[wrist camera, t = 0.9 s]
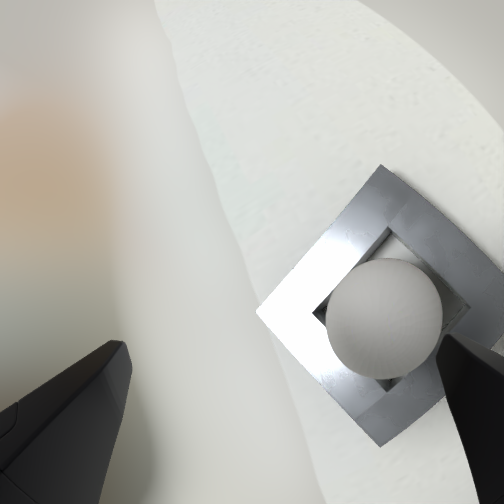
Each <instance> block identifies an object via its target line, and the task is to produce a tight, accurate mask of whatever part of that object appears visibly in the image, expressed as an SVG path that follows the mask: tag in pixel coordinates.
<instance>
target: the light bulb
mask: <svg viewBox="0 0 504 504" xmlns="http://www.w3.org/2000/svg"><path fill="white" fill-rule="evenodd" d="M442 318H443V312H442V304H441V300H440V297H439V294H438V292H437V290H436V287H435V285H434V284H433V283H432V281H431V280H430V278H429V277H428V276H427V275H426V274H425V273H424V272H423V271H422V270H420V269H419V268H417V267H416V266H414V265H412V264H410V263H408V262H406V261H402V260H399V259H392V258H382V259H375V260H371V261H368V262H365V263H363V264H361V265H359V266H357V267H355V268H354V269H352V270H351V271H350V272H349V273H347V274H346V275H345V276H344V277H343V278H342V280H341V281H340V282H339V283H338V285H337V286H336V288H335V289H334V291H333V293H332V295H331V297H330V300H329V303H328V306H327V312H326V332H327V337H328V340H329V343H330V345H331V348H332V350H333V352H334V353H335V355H336V356H337V358H338V359H339V360H340V361H341V362H342V363H343V364H344V365H345V366H346V367H347V368H349V369H350V370H351V371H353V372H355V373H357V374H359V375H361V376H364V377H367V378H372V379H391V378H396V377H399V376H402V375H404V374H407V373H409V372H411V371H412V370H414V369H415V368H417V367H418V366H419V365H420V364H421V363H422V362H424V361H425V360H426V359H427V357H428V356H429V355H430V353H431V352H432V351H433V349H434V347H435V345H436V343H437V341H438V338H439V336H440V332H441V327H442Z"/></svg>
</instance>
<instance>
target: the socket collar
mask: <svg viewBox="0 0 504 504" xmlns="http://www.w3.org/2000/svg"><path fill="white" fill-rule="evenodd" d="M390 233H392V234H393V235H394V236H395V237H396V238H397V239H398V240H399V241H400V242H402V243H403V244H404V245H405V246H406V247H407V248H408V249H409V250H410V251H411V252H412V253H413V254H415V255H416V256H417V257H418V258H419V259H420V260H421V261H422V262H423V263H424V264H425V265H426V266H427V267H428V268H429V269H430V270H431V271H432V272H433V273H434V274H435V275H436V276H437V277H438V278H439V279H440V280H441V281H442V282H443V283H444V284H445V285H446V286H447V287H448V288H449V289H450V290H451V291H452V292H453V293H454V294H455V295H456V296H457V297H458V298H459V299H460V300H461V301H462V302H463V303H464V304H465V305H464V306H463V308H462V309H461V310H460V311H459V312H458V314H457V315H456V316H455V317H454V318H453V319H452V320H451V322H450V323H449V324H448V325H447V326H446V327H445V328H444V329H443V330H442V332H441V333H440V336H439V338H438V341H437V343H436V345H435V347H434V349H433V351H432V352H431V353H430V355H429V356H428V357H427V359H426V360H425V361H424V362H422V363H421V364H420V365H419V366H418V367H417V368H415V369H414V370H412V371H411V372H409V373H407V374H404V375H402V376H399V377H396V378H394V379H393V380H392V381H391V382H390V381H389V380H388V379H372V378H367V377H364V376H361V375H359V374H357V373H355V372H353V371H351V370H350V369H349V368H347V367H346V366H345V365H344V364H343V363H342V362H341V361H340V360H339V359H338V358H337V356H336V355H335V353H334V352H333V350H332V348H331V345H330V343H329V340H328V337H327V332H326V314H325V313H324V312H323V311H322V309H323V308H324V307H325V306H326V305H327V304H328V303H329V300H330V297H331V295H332V293H333V291H334V289H335V288H336V286H337V285H338V283H339V282H340V281H341V280H342V278H343V277H344V276H345V275H346V274H347V273H349V272H350V271H351V270H352V269H354V268H355V267H357V266H359V265H361V264H363V263H365V262H366V261H367V260H368V259H369V257H370V256H371V255H372V254H373V253H374V252H375V250H376V249H377V248H378V247H379V246H380V244H381V243H382V242H383V241H384V240H385V239H386V237H387V236H388V235H389V234H390ZM256 313H257V314H258V315H259V317H260V318H261V319H262V320H263V321H264V322H265V323H266V325H267V326H268V327H269V328H270V329H271V330H272V331H273V333H274V334H275V335H276V336H277V337H278V338H279V339H280V340H281V342H282V343H283V344H284V345H285V346H286V347H287V348H288V349H289V351H290V352H291V353H292V354H293V355H294V356H295V357H296V358H297V359H298V361H299V362H300V363H301V364H302V365H303V366H304V367H305V368H306V369H307V370H308V372H309V373H310V374H311V375H312V376H313V377H314V378H315V379H316V380H317V381H318V382H319V384H320V385H321V386H322V387H323V388H324V389H325V390H326V391H327V392H328V393H329V394H330V395H331V397H332V398H333V399H334V400H335V401H336V402H337V403H338V404H339V405H340V406H341V407H342V408H343V409H344V410H345V411H346V413H347V414H348V415H349V416H350V417H351V418H352V419H353V420H354V421H355V422H356V423H357V424H358V425H359V426H360V427H361V428H362V429H363V430H364V431H365V432H366V433H367V434H368V436H369V437H370V438H371V439H372V440H373V441H374V442H375V443H376V444H377V445H378V446H379V447H382V446H383V445H384V444H386V443H387V442H389V441H390V440H391V439H393V438H394V437H395V436H397V435H398V434H399V433H401V432H402V431H403V430H405V429H406V428H407V427H408V426H410V425H411V424H412V423H413V422H415V421H416V420H417V419H418V418H420V417H421V416H422V415H423V414H424V413H426V412H427V411H428V410H429V409H430V408H431V407H433V406H434V405H435V404H436V403H437V402H438V401H439V400H440V399H442V398H443V397H444V396H445V392H444V388H443V385H442V381H441V378H440V375H439V371H438V368H437V365H436V354H437V351H438V349H439V346H440V344H441V341H442V338H443V336H444V335H445V334H447V333H453V332H457V333H460V334H462V335H463V336H465V337H467V338H469V339H471V340H473V341H475V342H477V343H479V344H481V345H483V346H485V347H486V348H488V349H491V347H492V346H493V345H494V344H495V343H496V342H497V340H498V339H499V338H500V337H501V336H502V334H503V333H504V274H503V273H502V272H501V271H500V270H499V269H498V268H497V267H496V266H495V265H494V263H493V262H492V261H491V260H490V259H489V258H488V257H487V256H486V255H485V254H484V253H483V252H482V251H481V250H480V249H479V248H478V247H477V246H476V245H475V244H474V243H473V242H472V241H471V240H470V239H469V238H468V237H467V236H466V235H465V234H464V233H463V232H461V231H460V230H459V229H458V228H457V227H456V226H455V225H454V224H453V223H452V222H451V221H450V220H448V219H447V218H446V217H445V216H444V215H443V214H442V213H441V212H439V211H438V210H437V209H436V208H435V207H434V206H433V205H431V204H430V203H429V202H428V201H427V200H426V199H424V198H423V197H422V196H421V195H420V194H418V193H417V192H416V191H415V190H413V189H412V188H411V187H410V186H408V185H407V184H406V183H405V182H403V181H402V180H401V179H400V178H398V177H397V176H396V175H394V174H393V173H392V172H391V171H389V170H388V169H387V168H385V167H384V166H383V165H381V164H380V166H379V167H378V168H377V169H376V171H375V172H374V173H373V174H372V176H371V177H370V178H369V179H368V181H367V182H366V183H365V184H364V185H363V187H362V188H361V189H360V190H359V192H358V193H357V194H356V195H355V197H354V198H353V199H352V200H351V201H350V203H349V204H348V205H347V206H346V207H345V209H344V210H343V211H342V212H341V213H340V215H339V216H338V217H337V218H336V219H335V221H334V222H333V223H332V224H331V225H330V227H329V228H328V229H327V230H326V231H325V233H324V234H323V235H322V236H321V237H320V238H319V240H318V241H317V242H316V243H315V244H314V246H313V247H312V248H311V249H310V250H309V251H308V253H307V254H306V255H305V256H304V257H303V258H302V259H301V261H300V262H299V263H298V264H297V265H296V266H295V268H294V269H293V270H292V271H291V272H290V273H289V274H288V276H287V277H286V278H285V279H284V280H283V281H282V282H281V283H280V285H279V286H278V287H277V288H276V289H275V290H274V291H273V293H272V294H271V295H270V296H269V297H268V298H267V299H266V300H265V301H264V303H263V304H262V305H261V306H260V307H259V308H258V309H257V310H256Z"/></svg>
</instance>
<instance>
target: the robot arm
mask: <svg viewBox="0 0 504 504" xmlns="http://www.w3.org/2000/svg"><path fill="white" fill-rule="evenodd" d="M436 365H437V368H438V371H439V375H440V378H441V381H442V385H443V388H444V392H445V395H446V399H447V402H448V405H449V408H450V411H451V413H452V416H453V419H454V421H455V424H456V427H457V430H458V433H459V436H460V438H461V441H462V444H463V447H464V451H465V454H466V457H467V460H468V463H469V467H470V470H471V473H472V477H473V481H474V484H475V488H476V492H477V496H478V500H479V504H504V357H503V356H502V355H500V354H498V353H496V352H494V351H492V350H490V349H488V348H486V347H485V346H483V345H481V344H479V343H477V342H475V341H473V340H471V339H469V338H467V337H465V336H463V335H462V334H460V333H457V332H453V333H447V334H445V335H444V336H443V338H442V341H441V344H440V346H439V349H438V351H437V354H436ZM131 374H132V363H131V359H130V356H129V353H128V349H127V346H126V344H125V342H123V341H117V340H110V341H108V342H107V343H105V344H104V345H102V346H100V347H99V348H97V349H96V350H94V351H93V352H92V353H90V354H88V355H87V356H85V357H84V358H82V359H81V360H79V361H78V362H76V363H75V364H73V365H72V366H70V367H68V368H67V369H65V370H64V371H63V372H61V373H60V374H58V375H56V376H55V377H53V378H52V379H50V380H49V381H47V382H46V383H44V384H43V385H41V386H40V387H38V388H37V389H35V390H33V391H32V392H31V393H29V394H27V395H26V396H24V397H23V398H21V399H20V400H19V401H18V402H15V403H14V404H12V405H11V406H9V407H8V408H6V409H4V410H3V411H2V412H0V504H98V503H99V499H100V495H101V491H102V487H103V484H104V480H105V476H106V473H107V469H108V466H109V462H110V459H111V455H112V451H113V448H114V445H115V442H116V438H117V435H118V432H119V428H120V425H121V422H122V418H123V413H124V409H125V403H126V398H127V394H128V389H129V383H130V378H131Z"/></svg>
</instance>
